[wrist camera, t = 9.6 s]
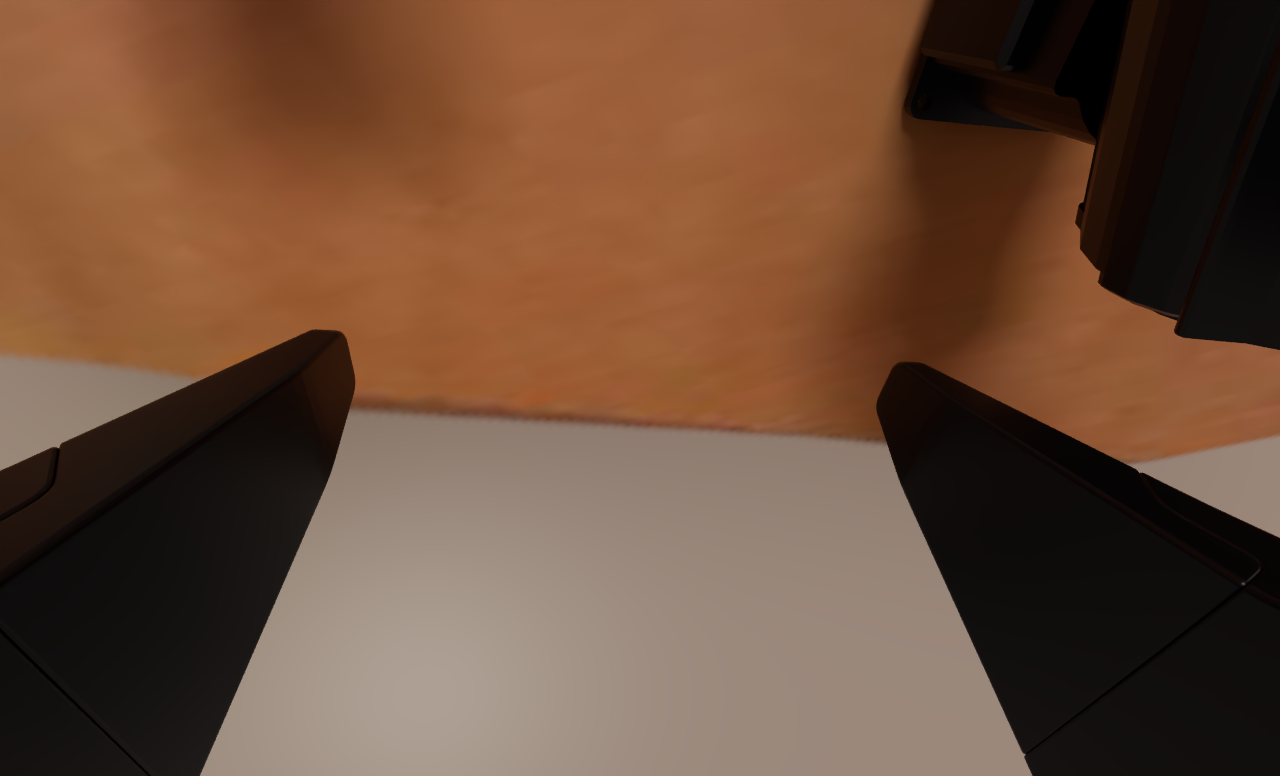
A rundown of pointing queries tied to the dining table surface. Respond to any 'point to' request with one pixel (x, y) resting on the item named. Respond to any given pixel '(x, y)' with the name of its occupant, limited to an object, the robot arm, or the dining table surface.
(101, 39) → the dining table surface
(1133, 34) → the robot arm
